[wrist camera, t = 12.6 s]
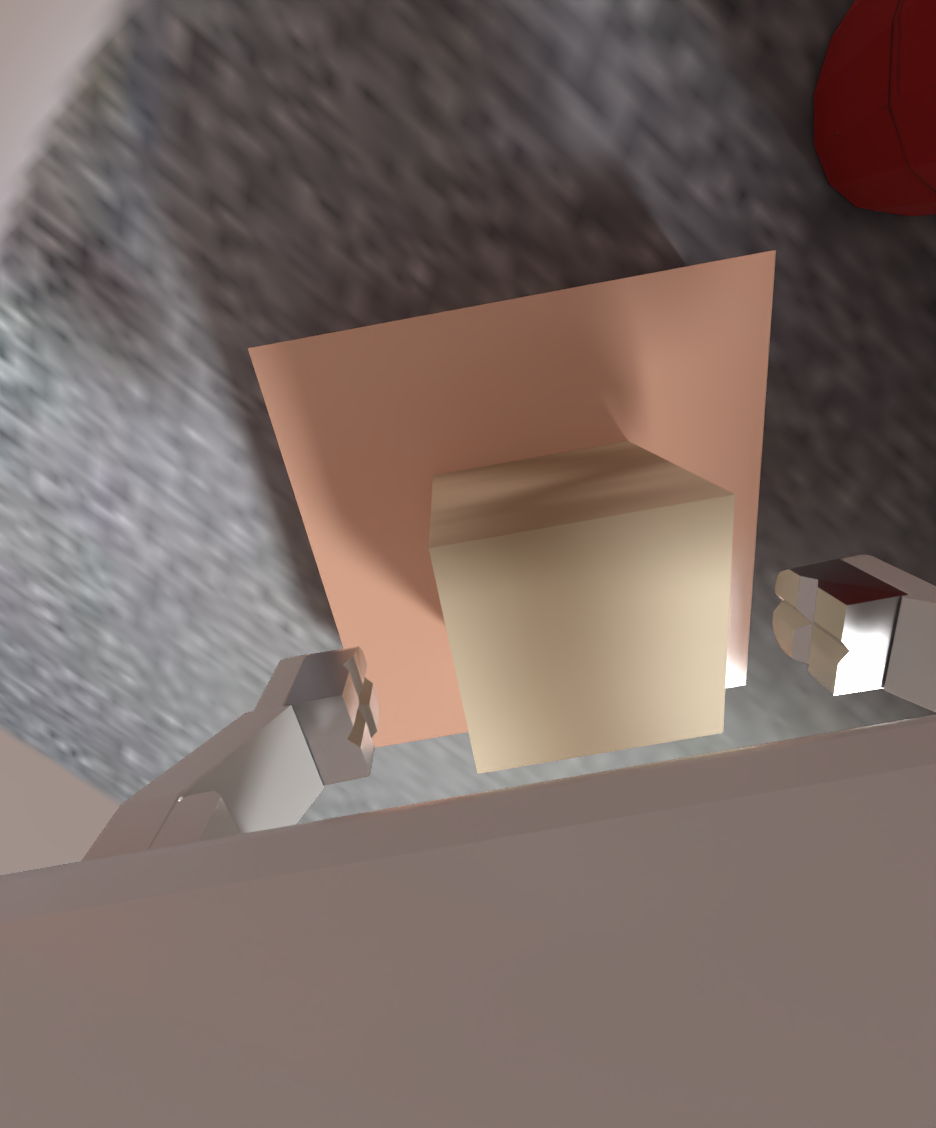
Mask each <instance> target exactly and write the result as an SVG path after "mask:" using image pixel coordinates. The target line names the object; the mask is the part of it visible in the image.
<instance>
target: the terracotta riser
mask: <svg viewBox="0 0 936 1128" xmlns="http://www.w3.org/2000/svg"><path fill="white" fill-rule="evenodd" d="M775 256H776V250H772V251H767V252H762V253H756V254H751V255H745V256H740V257H735V258H729V259H724V260H719V261H713V262H708V263H703V264H697V265H692V266H686V267H681V268H676V269H670V270H665V271H660V272H654V273H649V274H644V275H638V276H633V277H627V278H622V279H617V280H611V281H606V282H601V283H595V284H590V285H585V286H579V287H574V288H568V289H563V290H558V291H552V292H547V293H542V294H536V295H531V296H525V297H520V298H515V299H509V300H504V301H499V302H493V303H488V304H483V305H477V306H472V307H466V308H461V309H456V310H450V311H445V312H440V313H434V314H429V315H424V316H418V317H413V318H407V319H402V320H397V321H391V322H386V323H381V324H375V325H370V326H365V327H359V328H354V329H348V330H343V331H338V332H332V333H327V334H322V335H316V336H311V337H306V338H300V339H295V340H289V341H284V342H279V343H273V344H268V345H263V346H257V347H252V348H248V351H249V354H250V357H251V360H252V363H253V366H254V369H255V373H256V376H257V379H258V382H259V385H260V388H261V391H262V394H263V398H264V401H265V404H266V407H267V410H268V413H269V416H270V419H271V423H272V426H273V429H274V432H275V435H276V438H277V441H278V445H279V448H280V451H281V454H282V457H283V460H284V463H285V466H286V470H287V473H288V476H289V479H290V482H291V485H292V488H293V491H294V495H295V498H296V501H297V504H298V507H299V510H300V513H301V516H302V520H303V523H304V526H305V529H306V532H307V535H308V538H309V542H310V545H311V548H312V551H313V554H314V557H315V560H316V563H317V567H318V570H319V573H320V576H321V579H322V582H323V585H324V588H325V592H326V595H327V598H328V601H329V604H330V607H331V610H332V613H333V617H334V620H335V623H336V626H337V629H338V632H339V635H340V639H341V642H342V645H343V648H344V649H345V648H351V647H357V646H359V647H360V648H361V649H362V651H363V653H364V656H365V659H366V662H367V670H366V674H365V678H367V679H368V680H369V681H371V682H372V683H373V684H374V688H375V691H376V695H377V700H378V705H379V724H378V731H377V732H376V733H375V734H374V736H373V737H372V739H373V742H374V745H375V747H381V746H387V745H393V744H399V743H405V742H411V741H417V740H423V739H429V738H434V737H440V736H446V735H452V734H458V733H464V732H468V727H467V723H466V718H465V713H464V709H463V704H462V700H461V695H460V690H459V686H458V681H457V677H456V672H455V667H454V663H453V658H452V654H451V649H450V644H449V640H448V635H447V631H446V626H445V621H444V617H443V612H442V607H441V603H440V598H439V594H438V589H437V584H436V580H435V575H434V571H433V566H432V561H431V557H430V552H429V534H430V517H431V499H432V481H433V476H434V475H439V474H445V473H451V472H456V471H462V470H467V469H473V468H478V467H484V466H490V465H495V464H501V463H506V462H512V461H517V460H523V459H528V458H534V457H540V456H545V455H551V454H556V453H562V452H567V451H573V450H579V449H584V448H590V447H595V446H601V445H606V444H612V443H617V442H623V441H630V442H632V443H634V444H636V445H638V446H640V447H642V448H644V449H646V450H648V451H650V452H652V453H654V454H656V455H658V456H660V457H662V458H663V459H665V460H667V461H669V462H671V463H673V464H675V465H677V466H679V467H681V468H683V469H685V470H687V471H689V472H691V473H693V474H695V475H697V476H699V477H701V478H703V479H705V480H707V481H709V482H711V483H713V484H715V485H717V486H719V487H721V488H723V489H725V490H727V491H729V492H731V493H733V494H735V502H734V523H733V543H732V563H731V583H730V604H729V624H728V644H727V665H726V685H725V688H731V687H737V686H743V685H746V673H747V659H748V644H749V630H750V616H751V601H752V587H753V573H754V558H755V544H756V529H757V515H758V501H759V486H760V472H761V458H762V443H763V429H764V414H765V400H766V386H767V371H768V357H769V343H770V328H771V314H772V299H773V285H774V271H775Z"/></svg>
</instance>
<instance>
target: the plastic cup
mask: <svg viewBox="0 0 936 1128" xmlns="http://www.w3.org/2000/svg"><path fill="white" fill-rule="evenodd" d="M814 146H815V149H816V151H817V154H818V157H819V159H820V162H821V164H822V167H823V169H824V172H825V175H826V177H827V180H828V182H829V184H830V185H831V186H832V187H833V188H834V189H836V190H837V191H838V192H839V193H840V194H841V195H843V196H844V197H845V198H846V199H847V200H848V201H849V202H851V203H852V204H853V205H854V206H855V207H857V208H863V209H869V210H874V211H880V212H886V213H892V214H899V215H905V216H921V215H935V214H936V0H855V1H854V2H853V4H852V5H851V7H850V9H849V10H848V12H847V13H846V15H845V16H844V18H843V20H842V21H841V23H840V24H839V26H838V28H837V29H836V31H835V32H834V34H833V36H832V37H831V39H830V42H829V46H828V49H827V52H826V56H825V59H824V62H823V66H822V69H821V72H820V76H819V79H818V82H817V86H816V89H815V92H814Z"/></svg>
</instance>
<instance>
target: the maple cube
mask: <svg viewBox="0 0 936 1128" xmlns="http://www.w3.org/2000/svg"><path fill="white" fill-rule="evenodd" d="M734 502H735V494H733V493H731V492H729V491H727V490H725V489H723V488H721V487H719V486H717V485H715V484H713V483H711V482H709V481H707V480H705V479H703V478H701V477H699V476H697V475H695V474H693V473H691V472H689V471H687V470H685V469H683V468H681V467H679V466H677V465H675V464H673V463H671V462H669V461H667V460H665V459H663V458H662V457H660V456H658V455H656V454H654V453H652V452H650V451H648V450H646V449H644V448H642V447H640V446H638V445H636V444H634V443H632V442H630V441H623V442H617V443H612V444H606V445H601V446H595V447H590V448H584V449H579V450H573V451H567V452H562V453H556V454H551V455H545V456H540V457H534V458H528V459H523V460H517V461H512V462H506V463H501V464H495V465H490V466H484V467H478V468H473V469H467V470H462V471H456V472H451V473H445V474H439V475H434V476H433V481H432V499H431V517H430V534H429V552H430V557H431V561H432V566H433V571H434V575H435V580H436V584H437V589H438V594H439V598H440V603H441V607H442V612H443V617H444V621H445V626H446V631H447V635H448V640H449V644H450V649H451V654H452V658H453V663H454V667H455V672H456V677H457V681H458V686H459V690H460V695H461V700H462V704H463V709H464V713H465V718H466V723H467V727H468V732H469V736H470V741H471V746H472V750H473V755H474V759H475V764H476V769H477V773H478V774H479V773H485V772H491V771H497V770H503V769H509V768H515V767H521V766H527V765H533V764H539V763H545V762H551V761H557V760H563V759H569V758H575V757H581V756H587V755H593V754H599V753H605V752H611V751H617V750H623V749H629V748H635V747H641V746H647V745H653V744H659V743H665V742H671V741H677V740H683V739H689V738H695V737H701V736H707V735H713V734H719V733H723V726H724V705H725V685H726V665H727V644H728V624H729V604H730V583H731V563H732V543H733V523H734Z"/></svg>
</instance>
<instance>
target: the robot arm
mask: <svg viewBox="0 0 936 1128" xmlns="http://www.w3.org/2000/svg"><path fill="white" fill-rule="evenodd" d="M775 593H776V594H777V596H778V597H779V598H780V599H781V600H782V601H781V602H780V604H779V605H778V606H777V608H776V609H775V610H774V612H773V626H772V628H773V631H774V634H775V637H776V641H777V642H778V644H779V645H780V647H781V649H782V650H783V651H784V652H785V653H786V654H787V655H788V656H789V657H790V658H792V659H794V660H797V661H800V662H803V663H806V664H808V673H809V674H810V675H811V676H812V677H813V678H814V679H815V680H817V681H818V682H819V683H820V684H821V685H822V686H823V687H825V688H826V689H827V690H828V691H829V692H830V693H832V694H833V695H841V694H848V693H855V692H862V691H868V690H875V689H882V688H884V691H886V692H889V693H891V694H893V695H896V696H898V697H900V698H903V699H905V700H907V701H910V702H912V703H914V704H917V705H919V706H921V707H924V708H926V709H928V710H931V711H933V712H935V713H936V586H934V585H932V584H930V583H928V582H926V581H924V580H922V579H920V578H917V577H915V576H913V575H911V574H909V573H907V572H905V571H903V570H901V569H898V568H896V567H894V566H892V565H890V564H888V563H886V562H884V561H881V560H879V559H877V558H875V557H873V556H871V555H861V554H860V555H855V556H851V557H846V558H842V559H837V560H832V561H827V562H822V563H817V564H812V565H808V566H803V567H798V568H793V569H788V570H784V571H781V572H779V574H778V576H777V579H776V583H775ZM366 670H367V662H366V659H365V656H364V653H363V651H362V649H361V648H360V647H359V646H357V647H351V648H345V649H338V650H332V651H326V652H320V653H313V654H309V655H308V654H305V655H300V656H295V657H290V658H285V659H283V660H280V662H279V664H278V665H277V667H276V669H275V671H274V673H273V675H272V677H271V679H270V681H269V683H268V685H267V687H266V689H265V690H264V692H263V694H262V696H261V698H260V700H259V702H258V704H257V706H256V708H255V710H254V711H253V712H248V713H245V714H243V715H242V716H241V717H239V718H238V719H237V720H235V721H234V722H232V723H231V724H230V725H228V726H227V727H226V728H224V729H223V730H222V731H220V732H219V733H218V734H216V735H215V736H213V737H212V738H211V739H209V740H208V741H207V742H205V743H204V744H203V745H201V746H200V747H199V748H197V749H196V750H194V751H193V752H192V753H190V754H189V755H188V756H186V757H185V758H184V759H182V760H181V761H180V762H178V763H177V764H175V765H174V766H173V767H171V768H170V769H169V770H167V771H166V772H165V773H163V774H162V775H161V776H159V777H158V778H156V779H155V780H154V781H152V782H151V783H150V784H148V785H147V786H146V787H144V788H143V789H142V790H140V791H139V792H137V793H136V794H135V795H133V796H132V797H131V798H129V799H128V800H127V801H125V802H124V803H123V804H121V805H120V807H119V808H118V809H117V811H116V812H115V814H114V815H113V816H112V818H111V819H110V821H109V822H108V824H107V825H106V826H105V828H104V829H103V831H102V832H101V834H100V835H99V837H98V838H97V839H96V841H95V842H94V843H93V845H92V846H91V848H90V849H89V851H88V852H87V853H86V855H85V856H84V858H83V859H82V861H81V862H75V863H69V864H63V865H58V866H52V867H46V868H40V869H35V870H29V871H23V872H17V873H11V874H6V875H0V1128H936V714H934V715H929V716H923V717H917V718H911V719H905V720H900V721H894V722H888V723H882V724H876V725H871V726H865V727H859V728H853V729H847V730H842V731H836V732H830V733H824V734H818V735H813V736H807V737H801V738H795V739H789V740H784V741H778V742H772V743H766V744H760V745H755V746H749V747H743V748H737V749H731V750H726V751H720V752H714V753H708V754H702V755H697V756H691V757H685V758H679V759H673V760H667V761H662V762H656V763H650V764H644V765H638V766H633V767H627V768H621V769H615V770H609V771H604V772H598V773H592V774H586V775H580V776H574V777H569V778H563V779H557V780H551V781H545V782H540V783H534V784H528V785H522V786H516V787H511V788H505V789H499V790H493V791H487V792H481V793H476V794H470V795H464V796H458V797H452V798H447V799H441V800H435V801H429V802H423V803H418V804H412V805H406V806H400V807H394V808H388V809H383V810H377V811H371V812H365V813H359V814H354V815H348V816H342V817H336V818H330V819H325V820H319V821H313V822H307V823H301V824H296V823H297V822H298V821H299V819H300V818H301V817H302V816H303V814H304V813H305V812H306V811H307V809H308V808H309V807H310V805H311V804H312V803H313V802H314V800H315V799H316V798H317V796H318V795H319V794H320V793H321V791H322V790H323V789H324V785H329V784H334V783H339V782H344V781H349V780H353V779H358V778H363V777H368V776H370V773H371V767H372V762H373V756H374V750H375V748H374V745H373V742H372V737H373V736H374V734H375V733H376V732H377V731H378V724H379V705H378V700H377V695H376V691H375V688H374V684H373V683H372V682H371V681H369V680H368V679H367V678H365V674H366Z"/></svg>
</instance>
